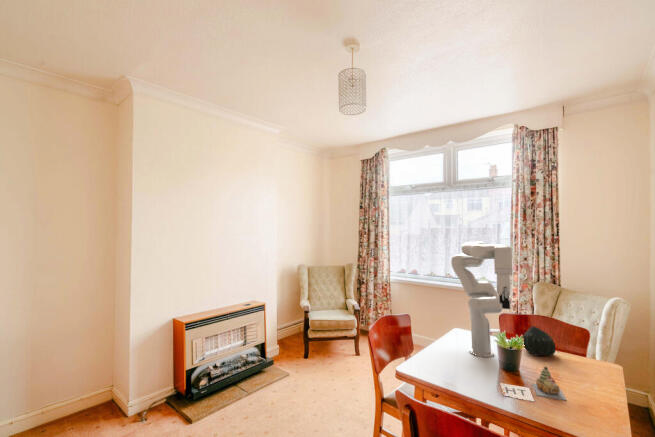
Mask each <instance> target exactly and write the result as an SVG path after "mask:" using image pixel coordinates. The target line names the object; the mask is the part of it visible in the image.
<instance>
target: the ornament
mask: <svg viewBox="0 0 655 437" xmlns="http://www.w3.org/2000/svg"><path fill="white" fill-rule="evenodd" d="M543 367H544V368H543V369H542V370H541V371H540V374H539V377H538V378H536V383H535V384H537V387H538V388H539V389H542V390H543V391H544V392H545V393H548V394H559V393H560V390H561V389H560V390H559V388H560V385H558V384H557V382H556V380H555V378H553V377H552V373H550V370H548V369H549V367H547V365H546V366H543Z"/></svg>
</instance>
